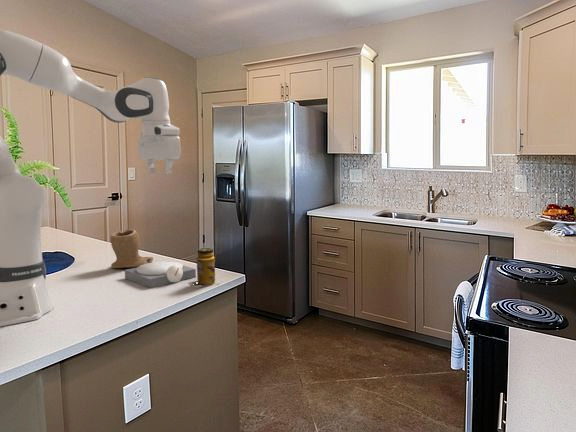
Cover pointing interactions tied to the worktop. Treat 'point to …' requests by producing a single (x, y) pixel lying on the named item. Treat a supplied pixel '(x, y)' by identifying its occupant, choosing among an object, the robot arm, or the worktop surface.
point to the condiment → (205, 268)
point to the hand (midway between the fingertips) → (160, 173)
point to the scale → (159, 273)
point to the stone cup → (127, 250)
